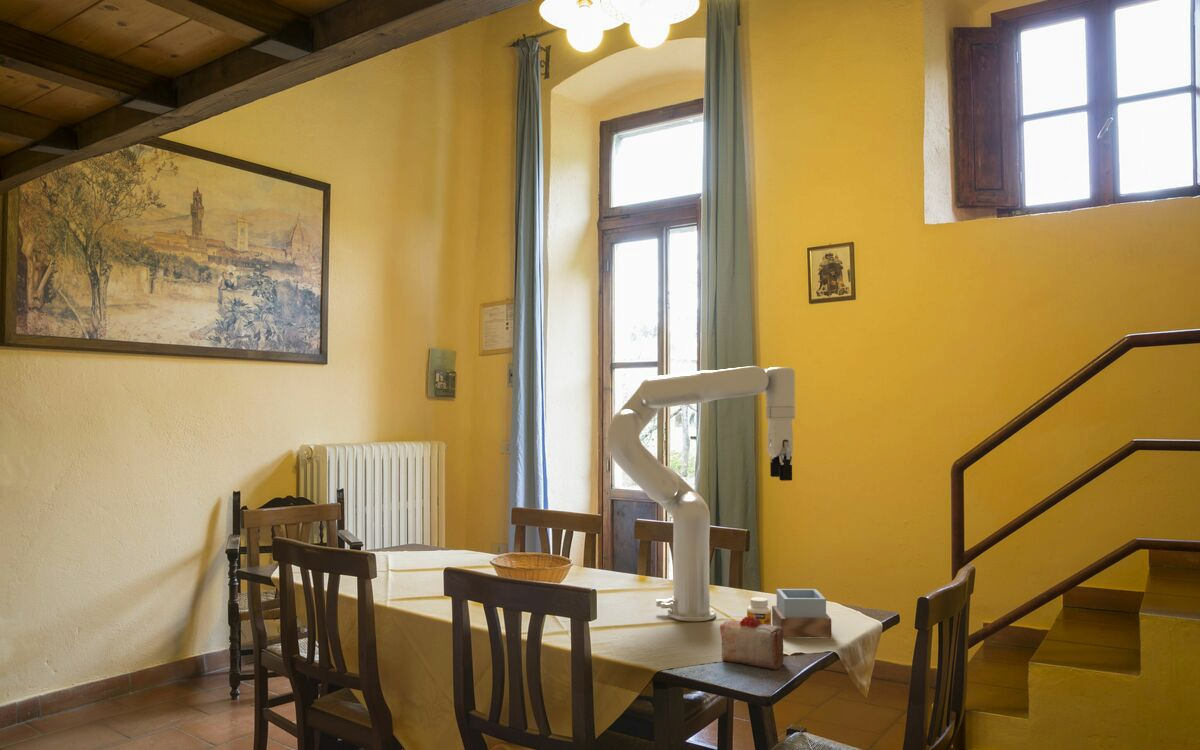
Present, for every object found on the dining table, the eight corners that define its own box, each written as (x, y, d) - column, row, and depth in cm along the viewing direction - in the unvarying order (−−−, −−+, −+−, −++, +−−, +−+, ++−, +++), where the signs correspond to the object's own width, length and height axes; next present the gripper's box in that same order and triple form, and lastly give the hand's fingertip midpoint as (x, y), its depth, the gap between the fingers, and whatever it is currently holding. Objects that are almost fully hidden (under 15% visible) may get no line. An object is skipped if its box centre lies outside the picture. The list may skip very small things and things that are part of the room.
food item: (715, 662, 178) (715, 616, 178) (729, 652, 185) (728, 608, 185) (775, 672, 171) (775, 625, 171) (787, 662, 178) (787, 616, 178)
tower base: (781, 639, 196) (781, 618, 196) (772, 625, 208) (772, 605, 208) (831, 639, 195) (831, 618, 196) (819, 625, 207) (819, 606, 208)
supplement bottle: (752, 646, 189) (752, 602, 189) (743, 639, 194) (743, 596, 194) (775, 645, 190) (774, 601, 190) (765, 638, 195) (764, 595, 196)
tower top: (784, 617, 197) (784, 598, 197) (776, 606, 207) (776, 588, 207) (826, 617, 197) (826, 599, 197) (816, 606, 207) (816, 589, 207)
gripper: (759, 413, 224) (759, 475, 224) (774, 414, 207) (774, 482, 206) (786, 413, 224) (786, 475, 224) (803, 414, 207) (804, 481, 206)
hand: (781, 478), depth 215 cm, fingers open, 9 cm apart
